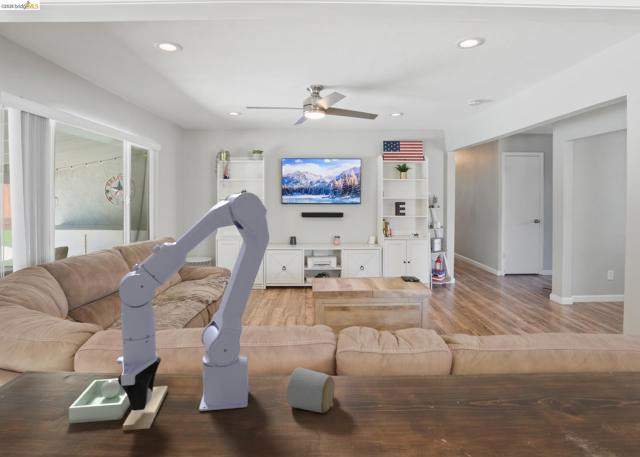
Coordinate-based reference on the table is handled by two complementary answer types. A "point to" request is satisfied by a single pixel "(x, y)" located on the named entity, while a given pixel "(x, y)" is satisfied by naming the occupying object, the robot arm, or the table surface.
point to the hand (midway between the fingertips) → (142, 403)
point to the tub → (98, 404)
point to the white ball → (110, 389)
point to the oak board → (146, 411)
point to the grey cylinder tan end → (310, 390)
